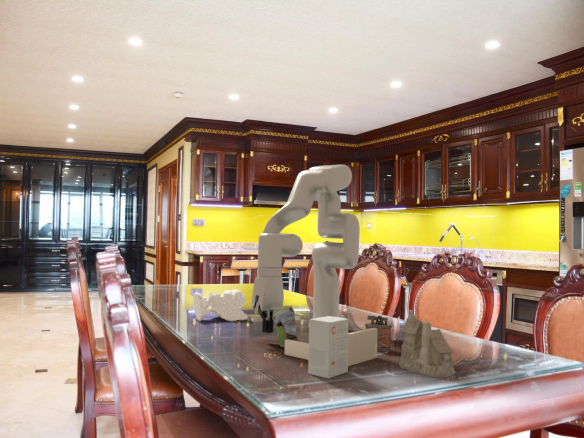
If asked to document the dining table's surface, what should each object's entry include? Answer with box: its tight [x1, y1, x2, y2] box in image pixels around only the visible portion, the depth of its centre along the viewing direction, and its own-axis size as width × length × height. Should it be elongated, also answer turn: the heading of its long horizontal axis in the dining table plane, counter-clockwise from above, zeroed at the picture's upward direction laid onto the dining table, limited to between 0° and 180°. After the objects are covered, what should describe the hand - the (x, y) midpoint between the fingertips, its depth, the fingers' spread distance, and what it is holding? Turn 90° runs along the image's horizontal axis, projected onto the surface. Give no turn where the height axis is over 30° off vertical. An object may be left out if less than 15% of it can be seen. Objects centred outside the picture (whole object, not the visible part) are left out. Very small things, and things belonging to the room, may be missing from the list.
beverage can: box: [274, 305, 298, 348], centre depth 147 cm, size 6×7×12 cm
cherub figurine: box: [192, 289, 248, 322], centre depth 195 cm, size 13×12×20 cm
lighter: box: [364, 314, 393, 352], centre depth 147 cm, size 8×3×10 cm, turn 71°
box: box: [284, 328, 378, 367], centre depth 136 cm, size 16×20×8 cm
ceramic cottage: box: [398, 309, 456, 378], centre depth 127 cm, size 16×16×15 cm
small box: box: [307, 316, 350, 379], centre depth 118 cm, size 8×6×13 cm
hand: (267, 332), depth 152 cm, fingers closed
